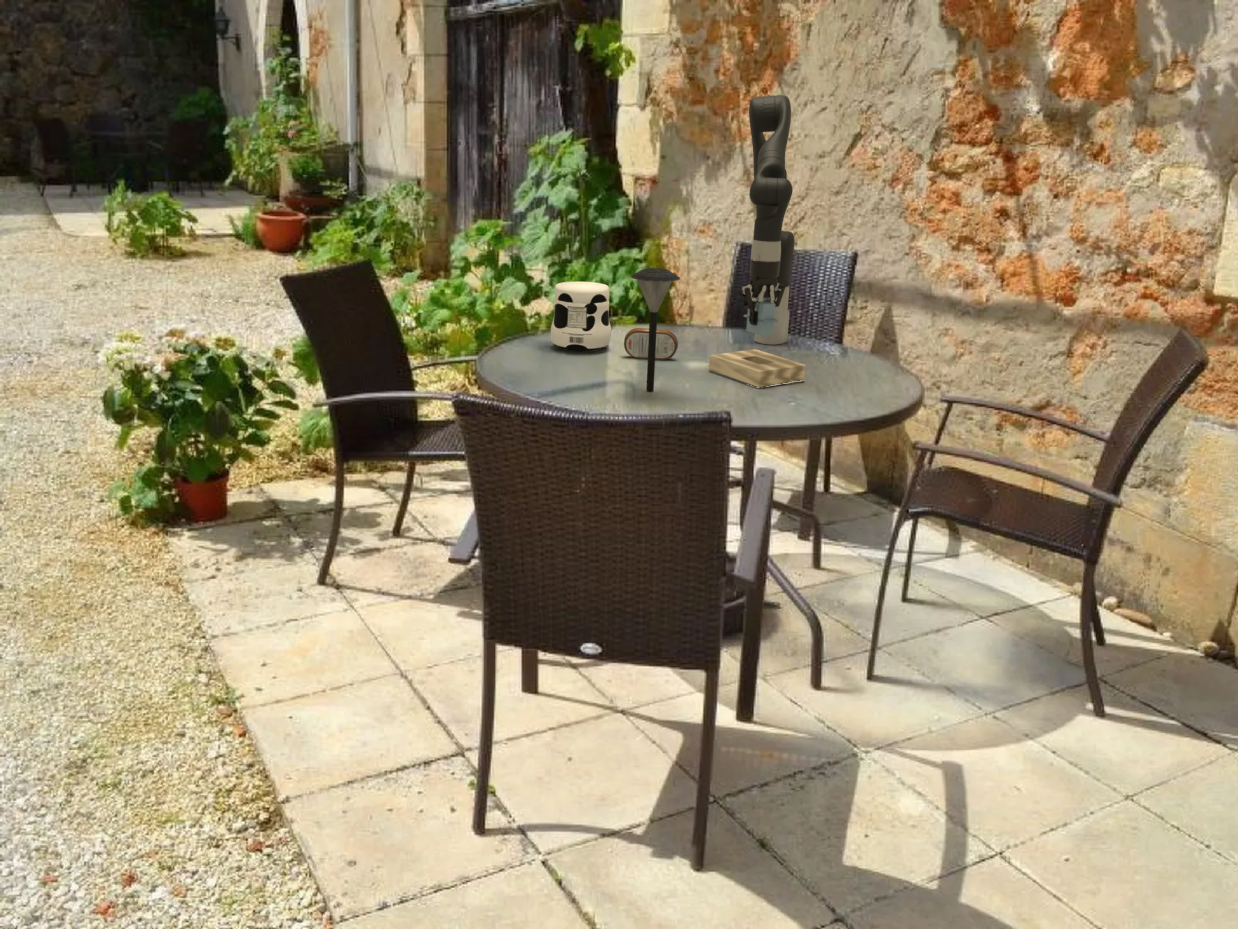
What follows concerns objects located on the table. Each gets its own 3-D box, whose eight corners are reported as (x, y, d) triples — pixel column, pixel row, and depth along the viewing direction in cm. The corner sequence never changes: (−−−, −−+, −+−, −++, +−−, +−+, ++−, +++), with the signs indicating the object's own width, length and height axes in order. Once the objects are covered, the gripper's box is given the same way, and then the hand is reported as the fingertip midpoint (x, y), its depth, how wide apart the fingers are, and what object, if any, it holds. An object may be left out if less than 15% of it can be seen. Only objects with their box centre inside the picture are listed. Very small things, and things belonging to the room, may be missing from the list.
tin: (677, 359, 302) (678, 329, 299) (676, 361, 299) (678, 331, 296) (623, 355, 303) (624, 326, 300) (622, 358, 300) (623, 328, 297)
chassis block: (754, 365, 298) (755, 349, 296) (804, 381, 282) (806, 365, 281) (709, 371, 289) (710, 355, 288) (758, 388, 274) (759, 371, 272)
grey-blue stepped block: (754, 328, 286) (756, 298, 284) (776, 335, 279) (779, 304, 277) (742, 329, 284) (744, 299, 282) (765, 336, 277) (767, 305, 275)
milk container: (591, 339, 321) (593, 279, 315) (621, 352, 307) (624, 289, 301) (540, 344, 312) (540, 282, 306) (568, 357, 298) (569, 293, 292)
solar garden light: (679, 397, 263) (686, 274, 254) (630, 397, 261) (635, 274, 252) (668, 384, 275) (675, 266, 265) (621, 384, 273) (626, 265, 263)
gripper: (776, 254, 282) (771, 319, 288) (734, 257, 275) (729, 323, 280) (796, 258, 276) (790, 324, 282) (753, 261, 269) (748, 329, 274)
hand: (760, 323), depth 281 cm, fingers closed on grey-blue stepped block, 4 cm apart
